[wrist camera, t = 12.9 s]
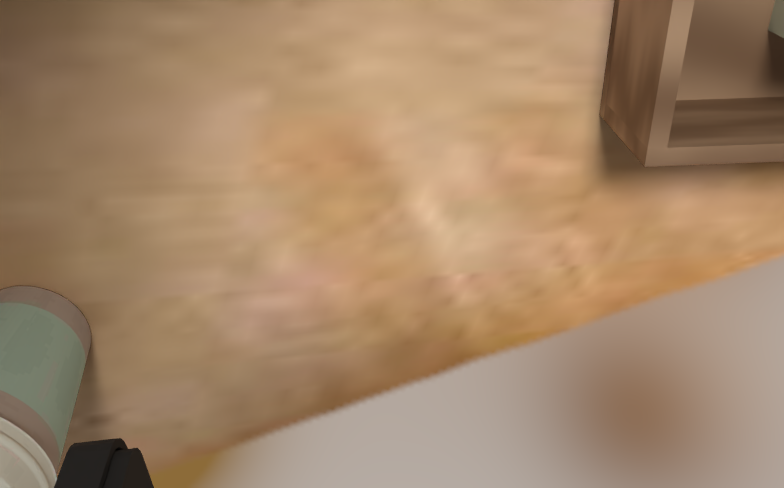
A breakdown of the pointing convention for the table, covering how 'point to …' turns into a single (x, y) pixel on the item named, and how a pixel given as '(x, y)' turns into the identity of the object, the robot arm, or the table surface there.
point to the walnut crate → (695, 81)
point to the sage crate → (777, 18)
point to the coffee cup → (37, 382)
